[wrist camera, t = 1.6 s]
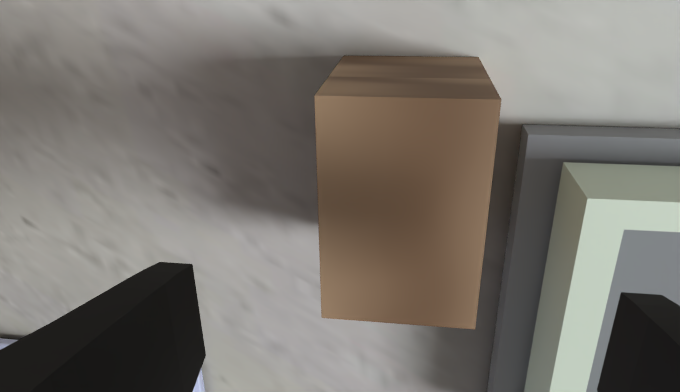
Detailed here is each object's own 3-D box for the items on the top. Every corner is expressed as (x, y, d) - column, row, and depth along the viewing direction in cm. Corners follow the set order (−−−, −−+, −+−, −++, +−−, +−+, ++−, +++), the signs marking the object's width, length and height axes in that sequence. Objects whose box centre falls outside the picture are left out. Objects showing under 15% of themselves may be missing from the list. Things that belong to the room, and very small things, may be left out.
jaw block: (345, 229, 19) (321, 317, 14) (343, 55, 16) (314, 95, 12) (461, 235, 18) (475, 329, 14) (478, 57, 16) (501, 99, 11)
